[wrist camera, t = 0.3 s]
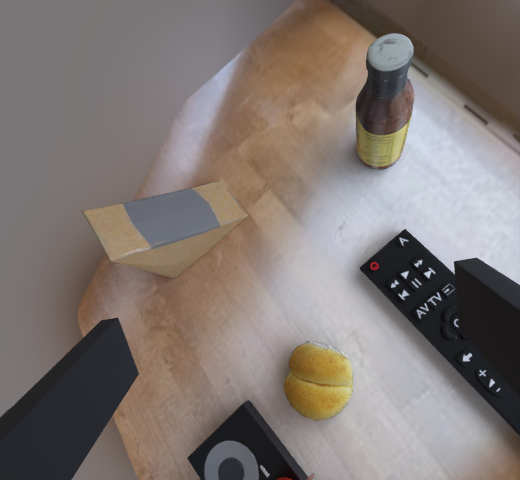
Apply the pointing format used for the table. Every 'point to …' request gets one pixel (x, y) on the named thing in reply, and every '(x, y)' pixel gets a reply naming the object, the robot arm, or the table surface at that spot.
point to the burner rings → (231, 462)
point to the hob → (251, 446)
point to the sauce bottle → (385, 102)
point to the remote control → (437, 315)
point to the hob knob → (283, 478)
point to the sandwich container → (166, 228)
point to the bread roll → (319, 381)
